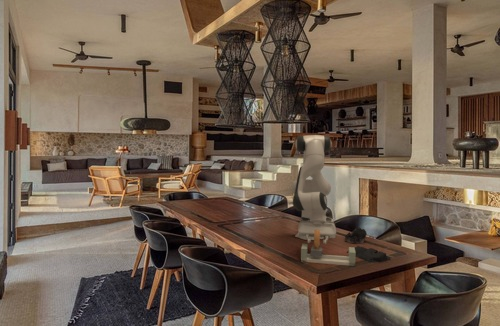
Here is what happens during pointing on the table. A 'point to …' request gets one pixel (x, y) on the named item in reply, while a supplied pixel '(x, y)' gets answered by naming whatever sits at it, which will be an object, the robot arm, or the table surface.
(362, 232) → the crystal cluster
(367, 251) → the dark flat rock slab
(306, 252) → the rail base
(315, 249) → the carriage
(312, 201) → the robot arm
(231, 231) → the table surface
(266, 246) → the table surface
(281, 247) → the table surface
